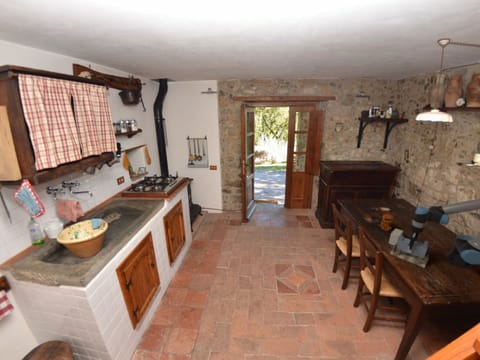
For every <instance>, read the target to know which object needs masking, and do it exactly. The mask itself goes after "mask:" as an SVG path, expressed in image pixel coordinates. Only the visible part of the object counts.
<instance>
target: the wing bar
mask: <svg viewBox="0 0 480 360" xmlns="http://www.w3.org/2000/svg"><path fill="white" fill-rule="evenodd" d="M403 233H404V230H401V229H398V228H395V229H394V230H392V232H391V233H390V236H389V242H388V244H390V245H392V246H394V245H395V244H396V243H398V241H399V238H400V235H401V236H403Z"/></svg>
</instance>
